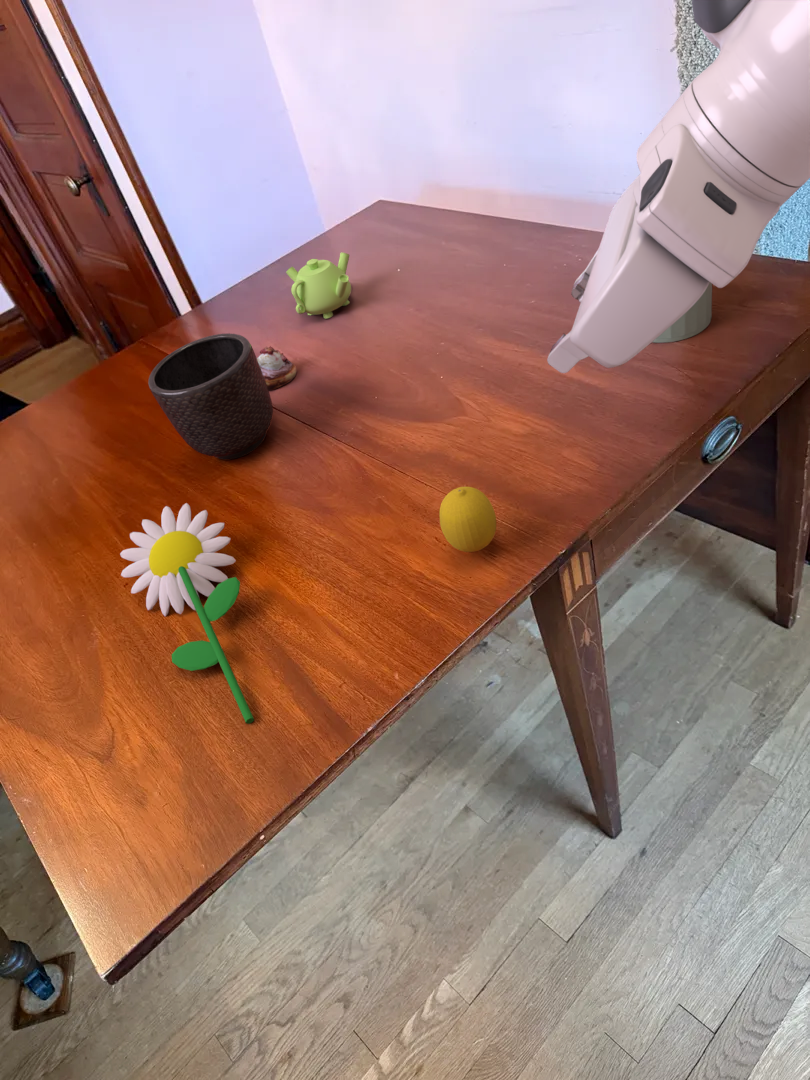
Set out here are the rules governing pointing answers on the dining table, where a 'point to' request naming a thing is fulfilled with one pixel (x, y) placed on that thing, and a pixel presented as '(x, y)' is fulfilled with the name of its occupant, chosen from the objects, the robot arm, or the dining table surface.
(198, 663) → the decorative flower
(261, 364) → the pastry
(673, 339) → the cup
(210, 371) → the planter
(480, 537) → the lemon
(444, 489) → the dining table surface
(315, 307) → the teapot
